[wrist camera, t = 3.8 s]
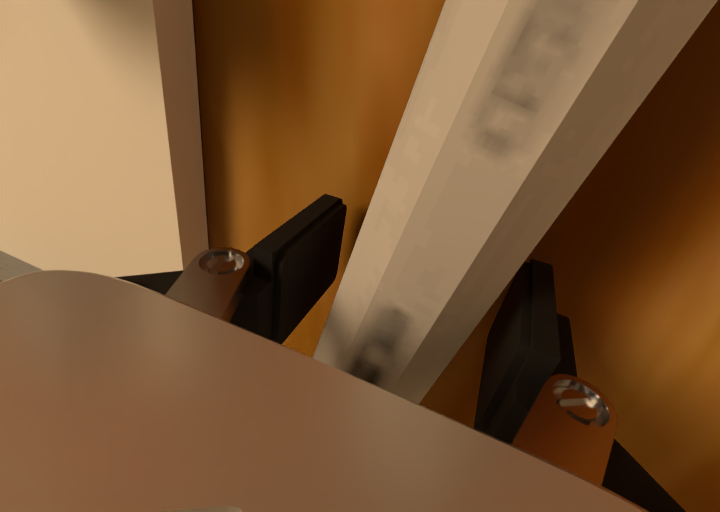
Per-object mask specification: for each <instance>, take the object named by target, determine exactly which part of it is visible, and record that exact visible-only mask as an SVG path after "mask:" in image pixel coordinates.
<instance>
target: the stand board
mask: <svg viewBox="0 0 720 512" xmlns="http://www.w3.org/2000/svg"><path fill="white" fill-rule="evenodd" d="M208 249H209V247H208V232H207V217H206V202H205V187H204V173H203V158H202V143H201V128H200V114H199V99H198V84H197V69H196V54H195V40H194V25H193V10H192V0H0V251H3V252H5V253H7V254H9V255H11V256H13V257H16V258H18V259H20V260H22V261H24V262H26V263H29V264H31V265H33V266H35V267H37V268H40V269H42V270H73V271H84V272H92V273H97V274H102V275H107V276H112V277H122V276H132V275H142V274H152V273H162V272H172V271H181V270H185V269H186V268H187V266H188V265H189V264H190V263H191V261H192V260H193V259H194V258H195V257H196V256H197V255H198V254H199V253H201V252H203V251H205V250H208Z"/></svg>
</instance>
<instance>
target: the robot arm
mask: <svg viewBox="0 0 720 512" xmlns="http://www.w3.org/2000/svg"><path fill="white" fill-rule="evenodd" d="M346 209H347V207H346V205H344V204H343V203H342V199H340V198H337V197H334V196H330V195H327V194H324V195H323V196H321V197H320V198H319V199H317V200H316V201H314V202H313V203H312V204H310V205H309V206H308V207H306V208H305V209H304V210H302V211H301V212H299V213H298V214H297V215H295V216H294V217H293V218H291V219H290V220H288V221H287V222H286V223H284V224H283V225H282V226H280V227H279V228H278V229H276V230H275V231H273V232H272V233H271V234H269V235H268V236H267V237H265V238H264V239H262V240H261V241H260V242H258V243H257V244H256V245H254V246H253V247H252V248H251V249H250V250H248V251H247V252H246V253H244V252H242V251H240V250H238V249H234V248H227V247H219V248H212V249H208V250H205V251H203V252H201V253H199V254H198V255H197V256H196V257H195V258H194V259H193V260H192V261H191V263H190V264H189V265H188V266H187V268H186V269H185V270H181V271H172V272H162V273H152V274H142V275H132V276H122V277H112V276H107V275H102V274H97V273H92V272H84V271H73V270H42V271H35V272H30V273H26V274H23V275H19V276H16V277H13V278H11V279H8V280H5V281H2V282H0V512H686V511H685V510H684V509H683V508H682V507H681V506H680V505H679V504H678V503H677V502H676V501H675V500H674V499H673V498H672V497H671V496H670V495H669V494H668V493H667V492H666V491H665V490H664V489H663V488H662V487H661V486H660V485H659V484H658V483H657V482H656V481H655V480H654V479H653V478H652V477H651V476H650V475H649V474H648V473H647V472H646V471H645V469H644V468H643V467H642V466H641V465H640V464H639V463H638V462H637V461H636V460H635V459H634V458H633V457H632V456H631V455H630V454H629V453H628V452H627V451H626V450H625V449H624V448H623V447H622V446H621V445H620V444H619V443H618V442H617V441H616V440H615V439H614V436H615V433H616V429H617V425H618V416H617V414H616V411H615V409H614V407H613V405H612V404H611V403H610V401H609V400H608V398H607V397H606V396H604V395H603V394H602V393H601V392H600V391H599V390H598V389H597V388H595V387H594V386H592V385H591V384H590V383H588V382H586V381H584V380H582V379H580V378H578V377H577V372H576V364H575V357H574V350H573V342H572V335H571V327H570V321H569V318H567V317H565V316H563V315H560V314H557V311H556V300H555V289H554V278H553V267H552V265H549V264H546V263H543V262H540V261H536V260H533V259H531V260H530V262H529V263H526V262H524V263H523V264H522V265H521V267H520V268H519V269H518V271H517V273H516V275H515V277H514V280H513V282H512V284H511V286H510V288H509V290H508V293H507V295H506V297H505V299H504V301H503V303H502V305H501V308H500V310H499V312H498V314H497V316H496V318H495V320H494V323H493V325H492V327H491V329H490V332H489V335H488V338H487V344H486V350H485V357H484V364H483V370H482V377H481V383H480V390H479V396H478V403H477V410H476V416H475V423H474V428H475V429H474V428H472V427H470V426H468V425H465V424H463V423H461V422H458V421H456V420H454V419H452V418H449V417H447V416H445V415H442V414H440V413H438V412H436V411H433V410H431V409H429V408H427V407H424V406H422V405H420V404H417V403H415V402H413V401H411V400H408V399H406V398H404V397H402V396H399V395H397V394H395V393H392V392H390V391H388V390H385V389H383V388H381V387H379V386H376V385H374V384H372V383H369V382H367V381H365V380H362V379H360V378H358V377H355V376H353V375H351V374H349V373H346V372H344V371H342V370H339V369H337V368H335V367H332V366H330V365H328V364H325V363H323V362H321V361H319V360H316V359H314V358H312V357H309V356H307V355H305V354H302V353H300V352H298V351H295V350H293V349H291V348H288V347H286V346H284V345H281V344H282V343H283V342H284V341H285V340H286V338H287V337H288V336H289V335H290V334H291V332H292V331H293V330H294V329H295V328H296V326H297V325H298V324H299V323H300V322H301V320H302V319H303V318H304V317H305V316H306V314H307V313H308V312H309V311H310V310H311V308H312V307H313V306H314V305H315V303H316V302H317V301H318V300H319V299H320V297H321V296H322V295H323V294H324V293H325V291H326V290H327V289H328V288H329V287H330V285H331V284H332V283H333V282H334V280H335V278H336V275H337V270H338V263H339V257H340V250H341V243H342V237H343V230H344V223H345V217H346Z"/></svg>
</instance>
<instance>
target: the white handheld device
mask: <svg viewBox="0 0 720 512" xmlns="http://www.w3.org/2000/svg"><path fill="white" fill-rule="evenodd" d="M717 1H718V0H446V1H445V4H444V6H443V9H442V12H441V14H440V17H439V20H438V23H437V25H436V28H435V31H434V33H433V36H432V39H431V41H430V44H429V47H428V49H427V52H426V55H425V58H424V60H423V63H422V66H421V68H420V71H419V74H418V76H417V79H416V82H415V84H414V87H413V90H412V92H411V95H410V98H409V101H408V103H407V106H406V109H405V111H404V114H403V117H402V119H401V122H400V125H399V127H398V130H397V133H396V135H395V138H394V141H393V144H392V146H391V149H390V152H389V154H388V157H387V160H386V162H385V165H384V168H383V170H382V173H381V176H380V179H379V181H378V184H377V187H376V189H375V192H374V195H373V197H372V200H371V203H370V205H369V208H368V211H367V213H366V216H365V219H364V222H363V224H362V227H361V230H360V232H359V235H358V238H357V240H356V243H355V246H354V248H353V251H352V254H351V257H350V259H349V262H348V265H347V267H346V270H345V273H344V275H343V278H342V281H341V283H340V286H339V289H338V291H337V294H336V297H335V300H334V302H333V305H332V308H331V310H330V313H329V316H328V318H327V321H326V324H325V326H324V329H323V332H322V334H321V337H320V340H319V343H318V345H317V348H316V351H315V353H314V356H313V358H314V359H316V360H319V361H321V362H323V363H325V364H328V365H330V366H332V367H335V368H337V369H339V370H342V371H344V372H346V373H349V374H351V375H353V376H355V377H358V378H360V379H362V380H365V381H367V382H369V383H372V384H374V385H376V386H379V387H381V388H383V389H385V390H388V391H390V392H392V393H395V394H397V395H399V396H402V397H404V398H406V399H408V400H411V401H413V402H415V403H417V404H419V403H420V402H421V400H422V399H423V398H424V396H425V395H426V394H427V392H428V391H429V390H430V388H431V387H432V386H433V384H434V383H435V381H436V380H437V379H438V377H439V376H440V375H441V373H442V372H443V371H444V369H445V368H446V367H447V365H448V364H449V363H450V361H451V360H452V359H453V357H454V356H455V354H456V353H457V352H458V350H459V349H460V348H461V346H462V345H463V344H464V342H465V341H466V340H467V338H468V337H469V336H470V334H471V333H472V332H473V330H474V329H475V327H476V326H477V325H478V323H479V322H480V321H481V319H482V318H483V317H484V315H485V314H486V313H487V311H488V310H489V309H490V307H491V306H492V305H493V303H494V302H495V300H496V299H497V298H498V296H499V295H500V294H501V292H502V291H503V290H504V288H505V287H506V286H507V284H508V283H509V282H510V280H511V279H512V278H513V276H514V275H515V273H516V272H517V271H518V269H519V268H520V267H521V265H522V264H523V263H524V261H525V260H526V259H527V257H528V256H529V255H530V253H531V252H532V251H533V249H534V248H535V246H536V245H537V244H538V242H539V241H540V240H541V238H542V237H543V236H544V234H545V233H546V232H547V230H548V229H549V228H550V226H551V225H552V224H553V222H554V221H555V219H556V218H557V217H558V215H559V214H560V213H561V211H562V210H563V209H564V207H565V206H566V205H567V203H568V202H569V201H570V199H571V198H572V197H573V195H574V194H575V192H576V191H577V190H578V188H579V187H580V186H581V184H582V183H583V182H584V180H585V179H586V178H587V176H588V175H589V174H590V172H591V171H592V170H593V168H594V167H595V165H596V164H597V163H598V161H599V160H600V159H601V157H602V156H603V155H604V153H605V152H606V151H607V149H608V148H609V147H610V145H611V144H612V143H613V141H614V140H615V138H616V137H617V136H618V134H619V133H620V132H621V130H622V129H623V128H624V126H625V125H626V124H627V122H628V121H629V120H630V118H631V117H632V116H633V114H634V113H635V111H636V110H637V109H638V107H639V106H640V105H641V103H642V102H643V101H644V99H645V98H646V97H647V95H648V94H649V93H650V91H651V90H652V89H653V87H654V86H655V84H656V83H657V82H658V80H659V79H660V78H661V76H662V75H663V74H664V72H665V71H666V70H667V68H668V67H669V66H670V64H671V63H672V62H673V60H674V59H675V57H676V56H677V55H678V53H679V52H680V51H681V49H682V48H683V47H684V45H685V44H686V43H687V41H688V40H689V39H690V37H691V36H692V35H693V33H694V32H695V30H696V29H697V28H698V26H699V25H700V24H701V22H702V21H703V20H704V18H705V17H706V16H707V14H708V13H709V12H710V10H711V9H712V8H713V6H714V5H715V3H716V2H717Z"/></svg>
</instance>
